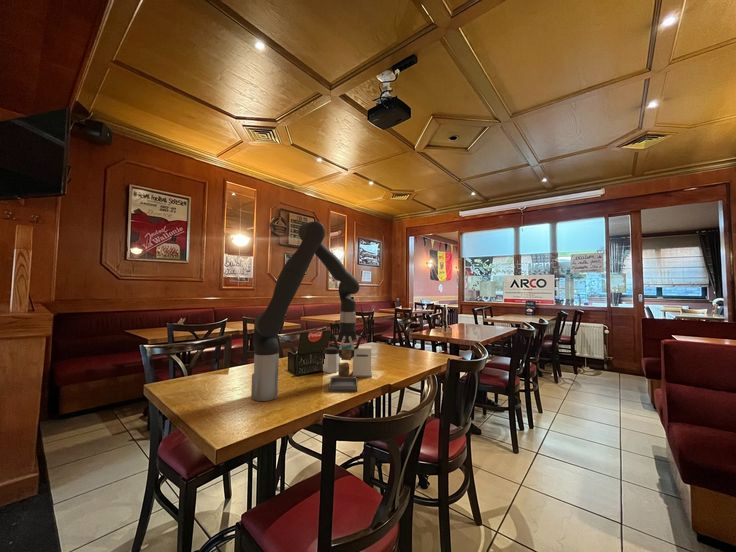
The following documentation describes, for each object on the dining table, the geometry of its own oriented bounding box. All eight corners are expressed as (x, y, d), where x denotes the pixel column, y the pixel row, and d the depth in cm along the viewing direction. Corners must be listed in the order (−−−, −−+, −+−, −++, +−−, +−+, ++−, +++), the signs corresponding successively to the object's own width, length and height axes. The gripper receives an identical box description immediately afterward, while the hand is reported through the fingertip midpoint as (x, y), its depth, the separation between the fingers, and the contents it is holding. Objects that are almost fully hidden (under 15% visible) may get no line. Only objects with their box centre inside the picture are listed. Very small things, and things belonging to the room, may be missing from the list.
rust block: (340, 377, 147) (340, 365, 147) (338, 375, 151) (338, 362, 152) (349, 376, 148) (349, 364, 149) (347, 374, 153) (347, 362, 153)
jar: (342, 371, 158) (343, 348, 158) (329, 374, 153) (329, 350, 153) (333, 368, 165) (333, 345, 165) (320, 370, 160) (320, 347, 160)
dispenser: (351, 377, 147) (352, 348, 148) (352, 373, 155) (352, 345, 156) (372, 377, 147) (372, 348, 148) (371, 373, 155) (371, 345, 156)
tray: (328, 391, 126) (328, 385, 126) (331, 383, 138) (331, 377, 138) (357, 391, 126) (357, 385, 126) (357, 383, 138) (357, 377, 138)
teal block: (341, 360, 139) (341, 346, 140) (341, 357, 144) (342, 345, 144) (351, 360, 139) (351, 347, 140) (351, 358, 144) (351, 345, 144)
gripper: (331, 321, 139) (330, 359, 138) (362, 322, 139) (361, 360, 138) (333, 320, 146) (332, 355, 145) (362, 321, 147) (361, 356, 145)
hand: (346, 357), depth 142 cm, fingers closed on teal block, 4 cm apart
